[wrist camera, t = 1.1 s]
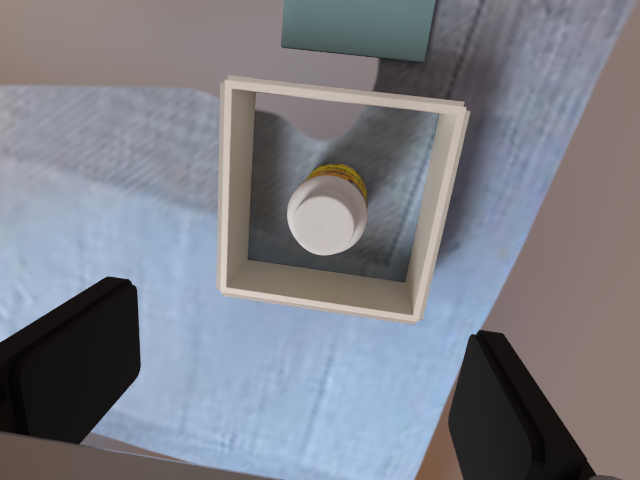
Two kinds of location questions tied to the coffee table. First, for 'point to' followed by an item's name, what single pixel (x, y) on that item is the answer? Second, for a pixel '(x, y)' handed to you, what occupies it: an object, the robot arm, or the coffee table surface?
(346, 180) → the supplement bottle
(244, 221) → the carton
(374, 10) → the mat
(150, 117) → the coffee table surface
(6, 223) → the coffee table surface
